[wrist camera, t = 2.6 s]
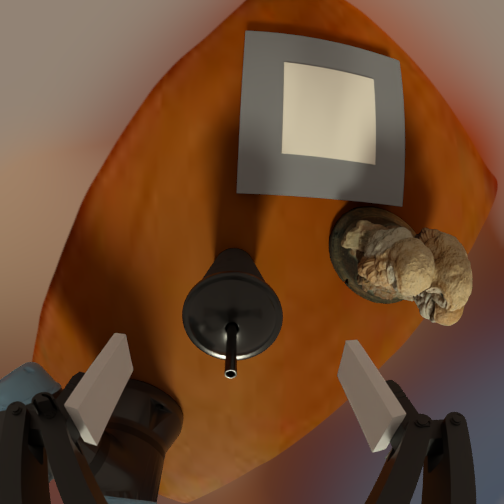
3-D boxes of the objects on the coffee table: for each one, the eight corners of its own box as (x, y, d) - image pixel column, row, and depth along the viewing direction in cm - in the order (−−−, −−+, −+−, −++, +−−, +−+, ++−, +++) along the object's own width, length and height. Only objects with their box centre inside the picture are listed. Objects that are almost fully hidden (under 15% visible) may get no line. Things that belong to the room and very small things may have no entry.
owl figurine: (302, 265, 34) (354, 333, 17) (346, 182, 32) (434, 183, 15) (397, 314, 36) (464, 376, 20) (434, 247, 34) (517, 282, 18)
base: (236, 192, 31) (236, 193, 28) (244, 41, 26) (245, 29, 23) (390, 204, 32) (403, 206, 29) (388, 67, 27) (400, 60, 24)
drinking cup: (277, 276, 34) (320, 384, 14) (225, 306, 34) (215, 429, 15) (244, 224, 32) (254, 285, 13) (191, 257, 33) (135, 351, 13)
